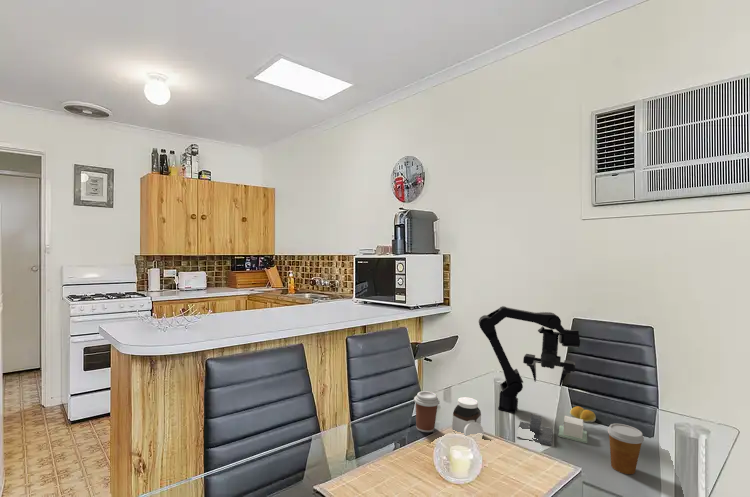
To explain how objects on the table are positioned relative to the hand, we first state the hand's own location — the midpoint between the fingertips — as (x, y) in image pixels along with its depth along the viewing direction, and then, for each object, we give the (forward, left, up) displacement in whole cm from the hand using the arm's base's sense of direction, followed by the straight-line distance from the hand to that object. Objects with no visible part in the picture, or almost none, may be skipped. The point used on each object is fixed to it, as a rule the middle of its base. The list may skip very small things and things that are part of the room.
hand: (547, 383), depth 165 cm
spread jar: (-22, -37, -12) cm, 45 cm away
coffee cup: (-37, -39, -12) cm, 55 cm away
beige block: (+10, -15, -11) cm, 21 cm away
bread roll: (+13, +4, -12) cm, 19 cm away
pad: (+10, -15, -12) cm, 21 cm away
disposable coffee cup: (+24, -32, -12) cm, 42 cm away
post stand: (-2, -23, -12) cm, 26 cm away
